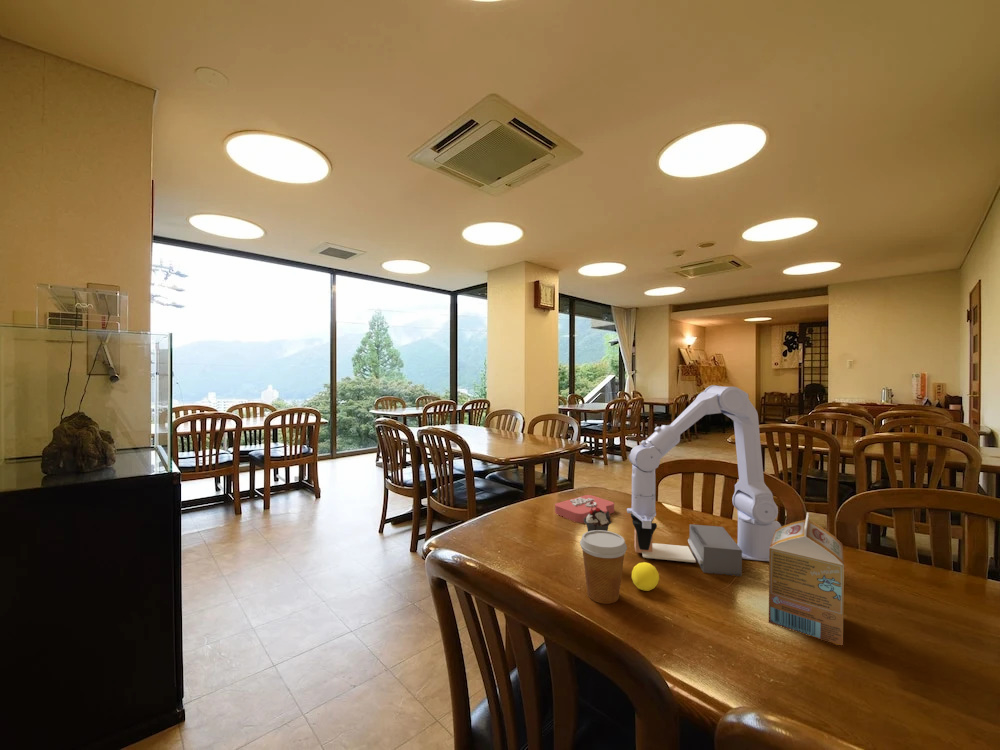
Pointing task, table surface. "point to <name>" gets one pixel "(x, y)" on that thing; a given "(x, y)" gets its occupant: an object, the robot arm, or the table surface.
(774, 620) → the milk carton
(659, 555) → the peach block on base
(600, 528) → the sundae
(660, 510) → the table surface
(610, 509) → the plaque
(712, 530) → the dispenser
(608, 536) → the disposable coffee cup
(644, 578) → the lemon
